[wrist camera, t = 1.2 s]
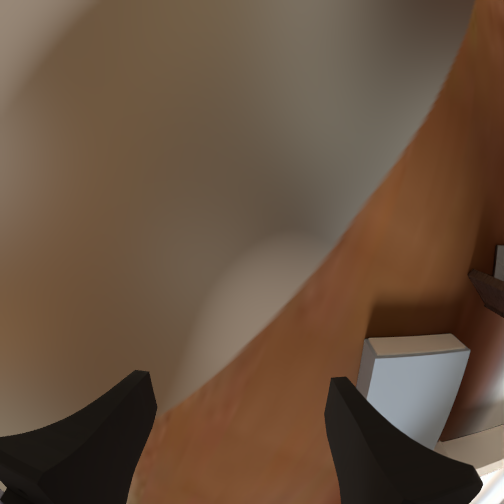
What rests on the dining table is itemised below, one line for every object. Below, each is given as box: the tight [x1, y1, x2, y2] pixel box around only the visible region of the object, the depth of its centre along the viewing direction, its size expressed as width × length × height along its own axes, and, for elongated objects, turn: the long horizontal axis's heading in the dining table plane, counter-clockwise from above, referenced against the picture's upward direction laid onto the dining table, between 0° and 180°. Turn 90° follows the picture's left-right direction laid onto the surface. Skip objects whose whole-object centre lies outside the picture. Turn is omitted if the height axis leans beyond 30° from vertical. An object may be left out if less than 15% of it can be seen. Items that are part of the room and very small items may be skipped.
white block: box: [356, 333, 471, 450], centre depth 23 cm, size 12×9×4 cm
